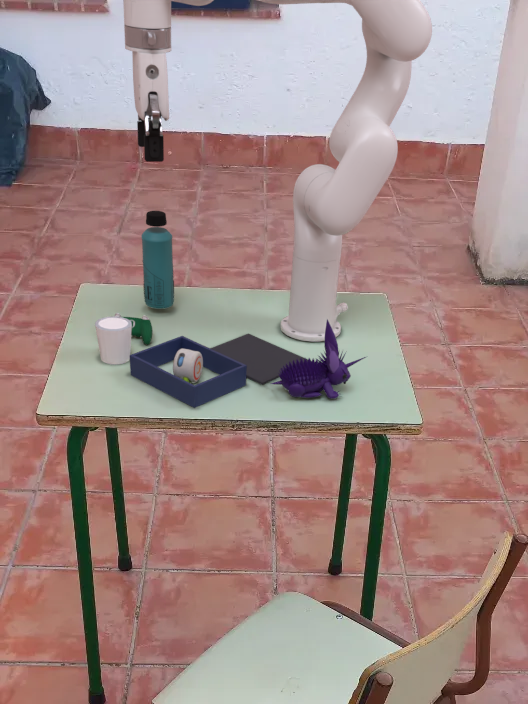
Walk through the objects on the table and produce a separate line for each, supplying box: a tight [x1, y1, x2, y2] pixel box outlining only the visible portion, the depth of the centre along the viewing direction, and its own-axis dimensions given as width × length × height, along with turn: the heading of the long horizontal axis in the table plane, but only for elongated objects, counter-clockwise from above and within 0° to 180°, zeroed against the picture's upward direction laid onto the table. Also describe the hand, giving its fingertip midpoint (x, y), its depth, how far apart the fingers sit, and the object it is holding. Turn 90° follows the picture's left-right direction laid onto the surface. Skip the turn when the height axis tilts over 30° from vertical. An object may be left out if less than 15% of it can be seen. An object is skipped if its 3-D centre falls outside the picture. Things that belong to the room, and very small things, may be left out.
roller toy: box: [172, 349, 204, 384], centre depth 164 cm, size 4×6×6 cm
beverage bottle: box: [141, 210, 176, 310], centre depth 184 cm, size 6×7×20 cm
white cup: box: [94, 315, 132, 365], centre depth 169 cm, size 7×7×7 cm
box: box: [129, 335, 247, 409], centre depth 165 cm, size 13×17×4 cm
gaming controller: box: [114, 312, 153, 346], centre depth 178 cm, size 9×4×6 cm
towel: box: [209, 333, 309, 386], centre depth 174 cm, size 14×17×1 cm
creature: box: [270, 319, 367, 400], centre depth 161 cm, size 9×18×12 cm, turn 96°
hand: (150, 153), depth 156 cm, fingers open, 9 cm apart
